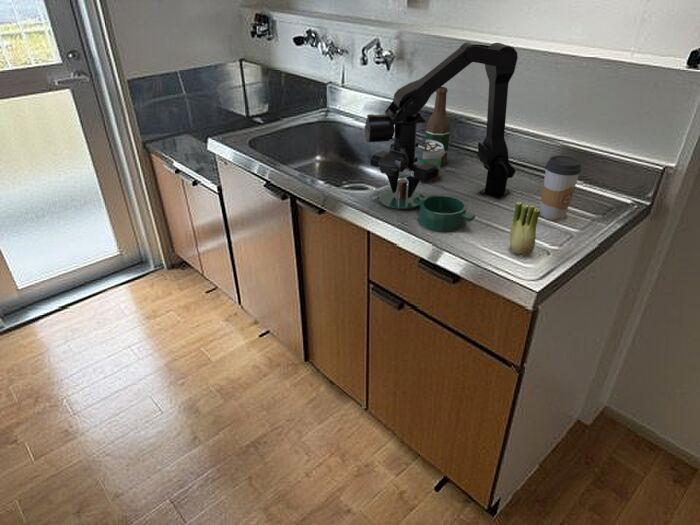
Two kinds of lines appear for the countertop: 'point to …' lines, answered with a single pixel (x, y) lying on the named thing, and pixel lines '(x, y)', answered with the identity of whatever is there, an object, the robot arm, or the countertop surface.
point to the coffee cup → (559, 186)
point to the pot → (443, 213)
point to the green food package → (433, 155)
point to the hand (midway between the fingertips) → (401, 194)
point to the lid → (399, 197)
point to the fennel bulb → (523, 229)
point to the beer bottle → (439, 123)
